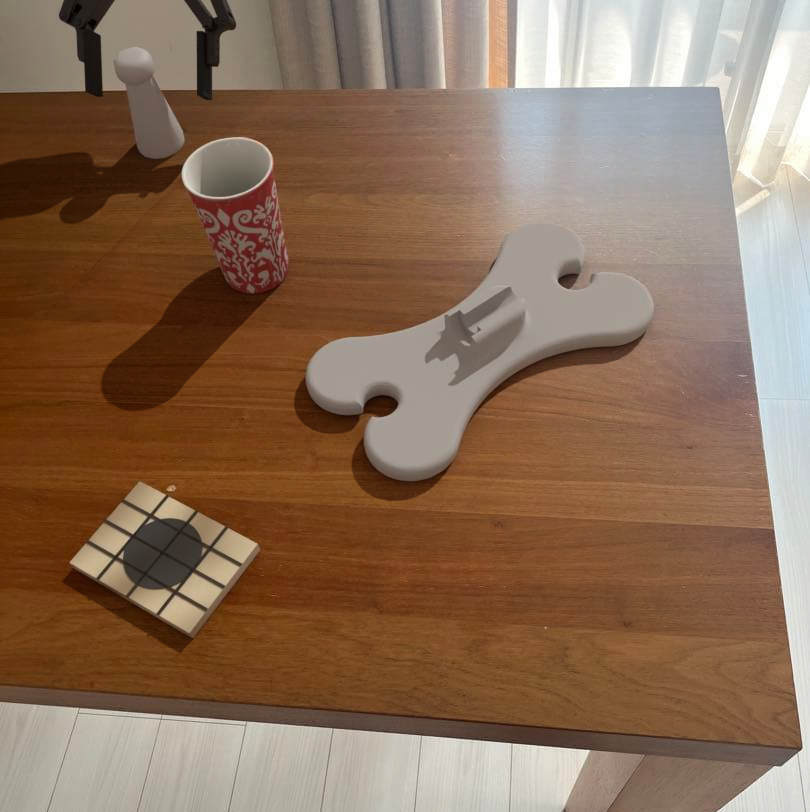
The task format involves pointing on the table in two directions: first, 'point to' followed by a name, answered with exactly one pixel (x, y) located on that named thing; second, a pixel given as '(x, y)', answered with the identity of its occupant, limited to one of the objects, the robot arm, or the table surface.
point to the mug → (239, 211)
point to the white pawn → (148, 105)
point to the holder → (475, 348)
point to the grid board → (166, 558)
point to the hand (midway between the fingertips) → (148, 96)
